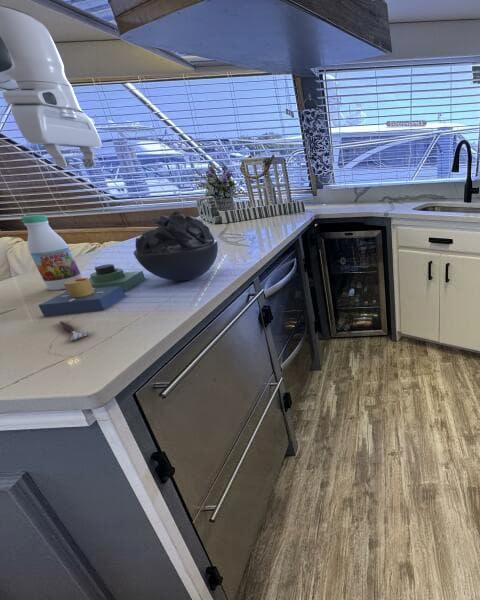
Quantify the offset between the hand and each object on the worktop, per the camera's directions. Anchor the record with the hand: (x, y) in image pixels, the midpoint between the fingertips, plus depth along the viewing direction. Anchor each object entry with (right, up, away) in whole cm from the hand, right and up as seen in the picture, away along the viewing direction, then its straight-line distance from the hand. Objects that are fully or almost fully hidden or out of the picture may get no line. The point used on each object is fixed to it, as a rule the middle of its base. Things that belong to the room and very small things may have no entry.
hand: (78, 166), depth 78 cm
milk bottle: (-18, -29, +15) cm, 37 cm away
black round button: (-3, -25, +11) cm, 27 cm away
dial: (+2, -31, -1) cm, 31 cm away
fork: (+12, -39, -13) cm, 43 cm away
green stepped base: (-3, -29, +12) cm, 32 cm away
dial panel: (+2, -34, 0) cm, 34 cm away
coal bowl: (+16, -26, +17) cm, 35 cm away
